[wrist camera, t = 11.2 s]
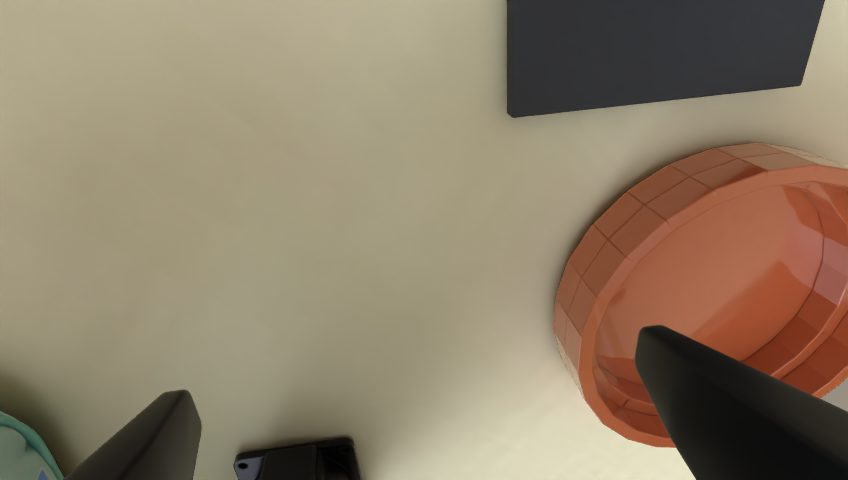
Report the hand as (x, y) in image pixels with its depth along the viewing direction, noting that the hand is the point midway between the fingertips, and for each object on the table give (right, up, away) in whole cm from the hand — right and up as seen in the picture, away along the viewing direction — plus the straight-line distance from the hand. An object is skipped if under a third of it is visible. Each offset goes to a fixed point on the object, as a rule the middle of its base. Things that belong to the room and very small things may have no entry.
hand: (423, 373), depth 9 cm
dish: (+14, 0, +15) cm, 21 cm away
